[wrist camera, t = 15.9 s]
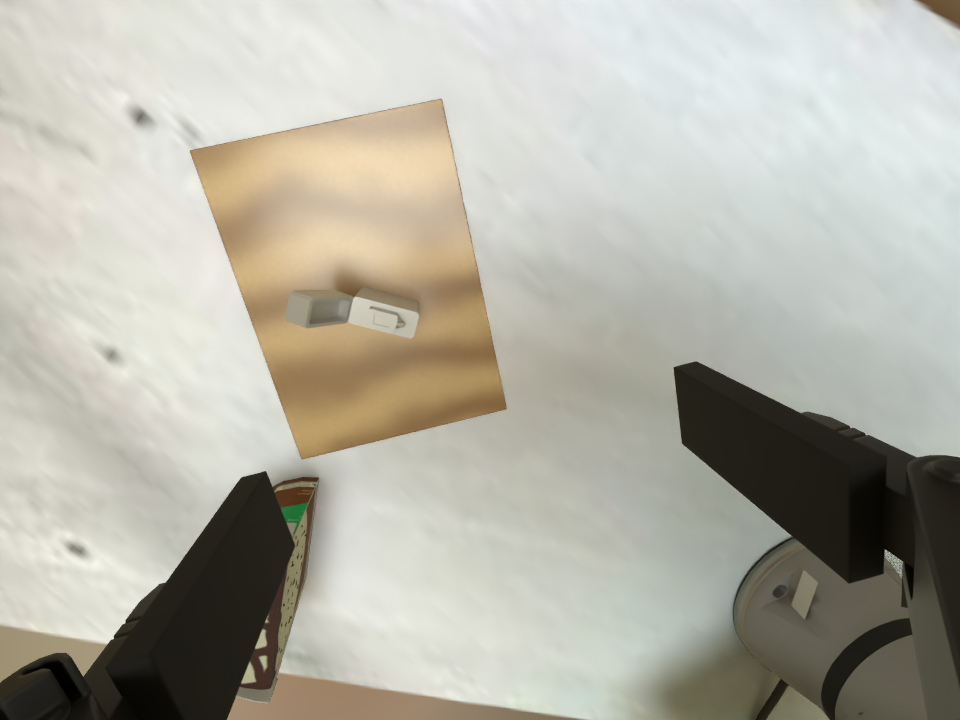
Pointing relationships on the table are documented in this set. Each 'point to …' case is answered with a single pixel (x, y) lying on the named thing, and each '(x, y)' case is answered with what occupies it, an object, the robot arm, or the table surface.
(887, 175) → the table surface
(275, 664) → the food container
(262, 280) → the wooden board
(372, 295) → the lighter
